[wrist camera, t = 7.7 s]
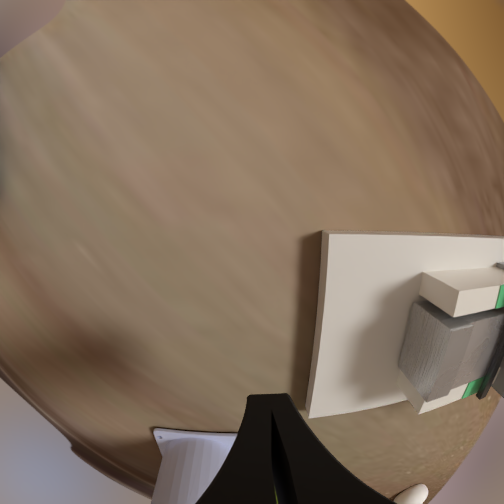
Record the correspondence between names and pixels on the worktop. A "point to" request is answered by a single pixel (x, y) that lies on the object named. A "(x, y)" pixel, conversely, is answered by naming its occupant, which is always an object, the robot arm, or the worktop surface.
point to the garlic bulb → (412, 495)
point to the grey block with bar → (451, 349)
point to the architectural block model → (392, 311)
